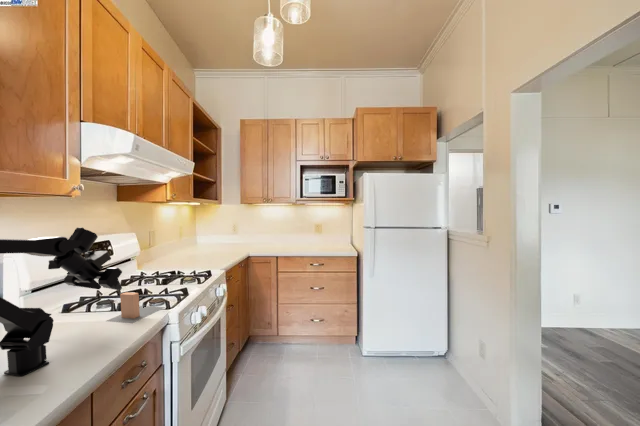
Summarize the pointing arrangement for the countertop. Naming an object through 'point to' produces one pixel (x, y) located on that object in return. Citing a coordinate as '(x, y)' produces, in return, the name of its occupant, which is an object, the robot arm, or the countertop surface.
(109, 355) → the countertop surface
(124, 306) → the tan flat block
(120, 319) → the mat
